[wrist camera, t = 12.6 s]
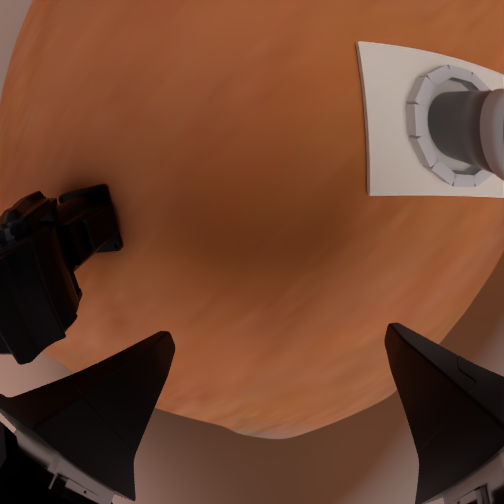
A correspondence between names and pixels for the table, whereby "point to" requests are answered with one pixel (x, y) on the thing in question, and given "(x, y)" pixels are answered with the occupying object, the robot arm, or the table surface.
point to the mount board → (416, 122)
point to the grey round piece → (470, 128)
